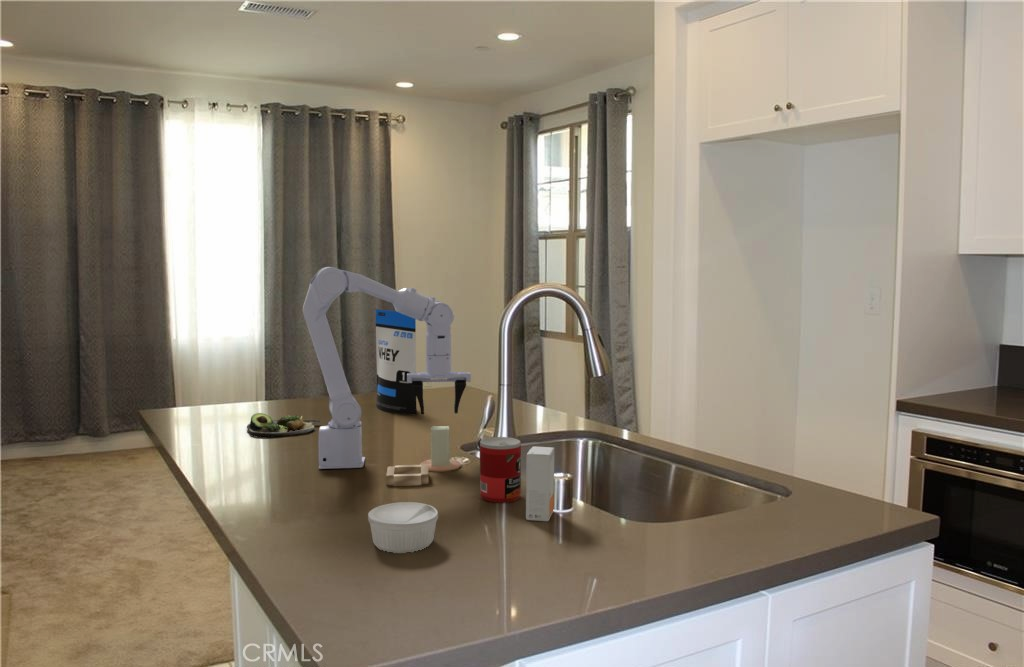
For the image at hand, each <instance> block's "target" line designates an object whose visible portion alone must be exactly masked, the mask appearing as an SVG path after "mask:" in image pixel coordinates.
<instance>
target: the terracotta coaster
mask: <svg viewBox="0 0 1024 667" xmlns="http://www.w3.org/2000/svg"><path fill="white" fill-rule="evenodd" d="M419 465H421V466H425V465H428V472H433V473H443V472H451V471H456V470H458V469H460V468H461V466H462V463H461V461H459V460H457V459H453V458H450V466H431V458H430V459H426V460H424V461H421V462H420V463H419Z"/></svg>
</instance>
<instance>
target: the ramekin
mask: <svg viewBox="0 0 1024 667" xmlns="http://www.w3.org/2000/svg"><path fill="white" fill-rule="evenodd" d="M438 520H439V512H438V509H437V508H436V507H434V506H432V505H430V504H426V503H423V502H422V503H421V502H417V501H416V502H413V501H412V502H411V501H406V502H405V501H404V502H403V501H400V502H392V503H386V504H382V505H378V506H376V507H374V508H372V509H371V510H369V512H368V513H367V521H368V523H369V525H370V531H371V532H370V533H371V537H372V542H373V544H374V546H376V548H378V550H380V551H382V550H383V551H382V552H385V551H387V552H386V553H389V552H393V553H392V554H407V553H406V552H411V553H415V552H414V551H416V552H419V551H418V550H420V551H423V550H425V549H427V548H428V547H430V545H431V544H432V543H433V541H434V537H435V532H436V526H437V521H438ZM426 547H427V548H426ZM424 548H425V549H424ZM422 549H423V550H422Z"/></svg>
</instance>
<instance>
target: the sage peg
mask: <svg viewBox="0 0 1024 667" xmlns="http://www.w3.org/2000/svg"><path fill="white" fill-rule="evenodd" d="M450 431H451V429H450V426H449V425H440V426H438V425H437V426H435V425H434V426H430V459H431V466H450V459H451V458H450V455H451V454H450V452H451V451H450V450H451V449H450Z"/></svg>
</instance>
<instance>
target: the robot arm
mask: <svg viewBox="0 0 1024 667" xmlns="http://www.w3.org/2000/svg"><path fill="white" fill-rule="evenodd" d="M343 292H346V293H356V292H361V293H365V294H367V295H370V296H372V297H375V298H378V299H380V300H383V301H385V302H388V303H390V304H392V306H393V308H394V309H395V310H394V311H396V312H399V313H402V314H404V315H407V316H409V317H412V318H414V319H416V320H417V321H420V322H423V321H424V322H425V323H426V334H425V343H426V344H425V345H426V346H425V349H426V350H425V353H426V354H425V358H426V359H425V360H426V361H425V362H426V364H425V366H426V370H425V372H416V373H407V383H412V387H413V390H414V392H415V394H416V400H417V401H418V405H419V409H420V414H421V415H424V414H425V405H424V404H425V402H424V383H444V382H445V383H447V382H450V383H453V382H454V405H453V408H454V409H453V410H454V411H453V412H454V414H458V412H459V406H460V403H461V399H462V396H463V395H464V394H463V393H464V391H465V389H466V386H467V383H471V382H472V380H471V379H472V375H471V372H470V371H469V372H467V371H466V372H464V371H463V372H462V371H461V372H459V371H452V334H451V333H452V332H451V329H452V328H451V325H452V324H453V321H454V319H455V315H454V313H453V309H452V308H451V307H450V305H448V304H446V303H444V302H440V301H439V300H436V299H437V298H436V297H434V296H430V297H429V296H426V295H424V294H422V293H420V292H417V289H416V288H415V287H410V288H407V287H404V288H401V289H399V290H397V289H394V288H391V286H387V285H386V284H383V283H381V282H378V281H377V280H373V279H371V278H369V277H367V276H365V275H363V274H360V273H356V272H353V271H348V270H343V269H339V268H338V267H333V266H324V267H322V268H320V269H319V270H317V272H316V273H315V275H314V276H313V277H312V278H311V280H310V282H309V285H308V289H307V293H306V296H305V298H304V303H303V305H302V314H303V318H304V320H305V324H306V326H307V330H308V333H309V336H310V339H311V341H312V345H313V349H314V352H315V354H316V357H317V360H318V364H319V367H320V370H321V373H322V376H323V380H324V383H325V385H326V389H327V393H328V395H329V401H328V402H329V403H328V409H329V412H330V415H331V417H332V418H331V419H330V421H328V424H327V425H321V426H319V429H318V469H319V470H323V469H324V470H326V469H327V470H329V469H331V470H332V469H358V468H359V469H361V468H363V467H364V464H365V461H366V456H363V443H362V442H363V440H362V439H363V436H362V432H363V430H362V421H361V420H360V419H361V417H362V408H361V405H360V404H359V403H358V402H357V399H356V398H355V396H354V395H353V394H352V391H351V389H350V388H351V387H350V385H349V384H348V381H347V377H346V374H345V371H344V367H343V364H342V362H341V358H340V356H339V353H338V348H337V346H336V343H335V340H334V336H333V334H332V330H331V327H330V325H329V320H328V317H327V315H326V314H327V312H328V310H329V308H330V307H331V305H332V303H333V301H335V300H336V299H337V298H338V297H339V296H341V295H342V294H343Z"/></svg>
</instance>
